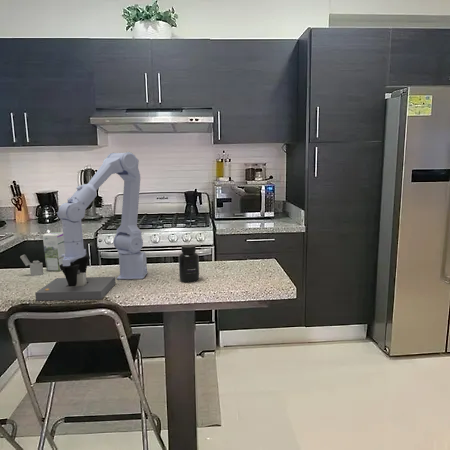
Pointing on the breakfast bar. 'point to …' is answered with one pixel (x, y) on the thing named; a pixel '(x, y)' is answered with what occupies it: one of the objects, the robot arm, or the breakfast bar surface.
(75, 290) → the socket block
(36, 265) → the lighter
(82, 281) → the plug
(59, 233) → the syrup box
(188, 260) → the supplement bottle
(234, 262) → the breakfast bar surface
